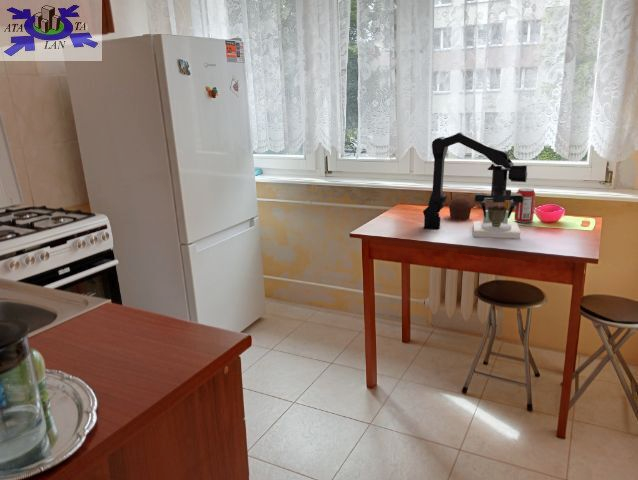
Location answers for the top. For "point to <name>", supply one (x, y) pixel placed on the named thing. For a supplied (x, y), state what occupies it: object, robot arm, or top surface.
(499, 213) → the ornate brown lamp shade
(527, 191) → the soda can
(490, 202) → the lighter
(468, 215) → the muffin
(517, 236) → the scale
